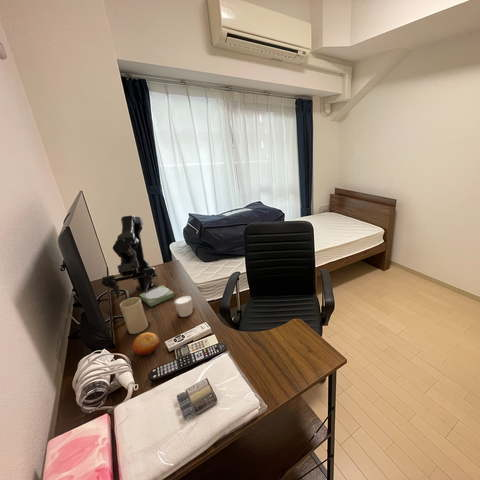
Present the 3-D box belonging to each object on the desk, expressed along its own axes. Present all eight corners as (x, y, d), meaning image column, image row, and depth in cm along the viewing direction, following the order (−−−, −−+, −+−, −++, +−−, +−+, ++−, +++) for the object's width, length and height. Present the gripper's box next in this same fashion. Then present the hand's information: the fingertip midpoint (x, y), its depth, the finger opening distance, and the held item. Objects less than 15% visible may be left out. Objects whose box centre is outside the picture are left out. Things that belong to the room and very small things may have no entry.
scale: (140, 298, 126) (139, 293, 125) (163, 288, 134) (162, 284, 133) (150, 306, 119) (149, 301, 118) (174, 296, 128) (173, 291, 127)
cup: (126, 329, 105) (116, 303, 100) (144, 320, 110) (136, 295, 105) (132, 336, 101) (123, 309, 96) (150, 327, 106) (143, 301, 102)
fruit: (139, 339, 97) (145, 325, 95) (158, 348, 99) (165, 334, 96) (123, 356, 90) (129, 341, 87) (144, 365, 91) (151, 350, 88)
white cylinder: (197, 308, 118) (194, 296, 115) (188, 318, 112) (185, 304, 109) (183, 307, 119) (180, 295, 116) (174, 317, 112) (170, 304, 110)
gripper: (94, 259, 100) (96, 296, 95) (149, 250, 109) (154, 284, 104) (105, 269, 110) (107, 303, 105) (155, 260, 118) (159, 291, 113)
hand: (132, 295), depth 106 cm, fingers open, 9 cm apart
